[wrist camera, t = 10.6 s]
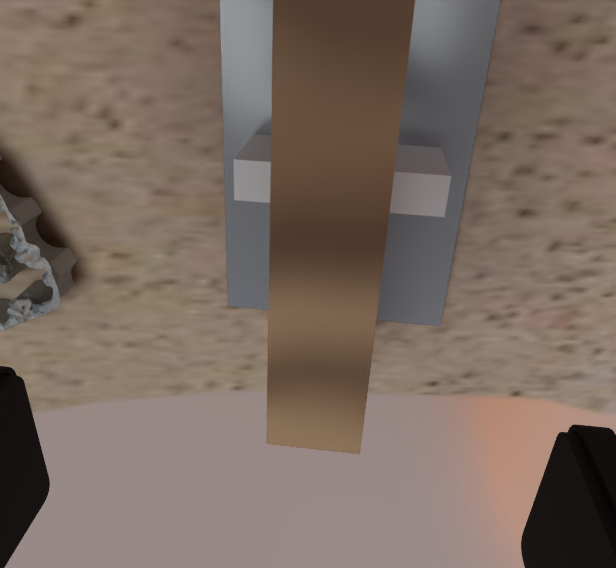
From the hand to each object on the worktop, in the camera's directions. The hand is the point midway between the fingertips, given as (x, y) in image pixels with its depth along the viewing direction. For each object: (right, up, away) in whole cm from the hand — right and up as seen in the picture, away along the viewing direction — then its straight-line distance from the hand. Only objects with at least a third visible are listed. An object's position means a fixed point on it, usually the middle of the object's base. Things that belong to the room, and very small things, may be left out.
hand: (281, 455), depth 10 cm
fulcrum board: (+2, +10, +19) cm, 21 cm away
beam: (+2, +7, +14) cm, 16 cm away
